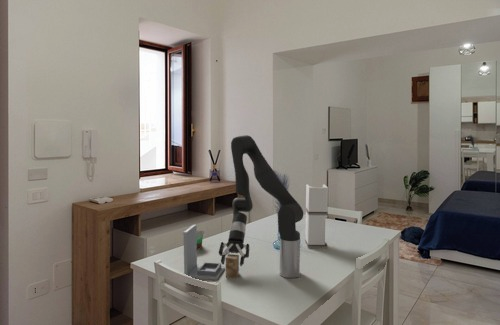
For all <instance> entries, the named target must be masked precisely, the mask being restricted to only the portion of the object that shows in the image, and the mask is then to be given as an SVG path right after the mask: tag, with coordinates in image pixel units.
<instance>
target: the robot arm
mask: <svg viewBox="0 0 500 325" xmlns="http://www.w3.org/2000/svg"><path fill="white" fill-rule="evenodd" d="M230 150H231V158H232V162H233V167H234V173H235V174H234V175H235V176H234V177H235V193H236V194H237V195H240V196H242V197H235V198H234V199H233V200H232V203H231V204H232V221H231V225H230V230H229V234H228V240H227V242H223V241H222V242H220V244H219V249H218V254H219V256H221V258H220V263H221V265H225V263H226V257H227V255H228V254H230V253H231V254H240V255H239V256H240V260H239V266H240V267H242V266H244V263H245V259H246V258H247V259H248V258H249V256H250V244H249V243H246V244H244V243H245V242H244V241H245V236H246V227H247V220H248V216H247V214H245V213H249V212H251V211H252V210H253V207H254V206H253V199H252V196H251V193H250V177H249V174H248V171H247V170H246V167H245V165H244V160H243V159H244V155H245V154H246V155H247V156H248V157H249V159H250V160H251V162H252V164H253V173H254V177H255V179H256V181H257V182H258V184H259V185H260V187H261V188H262V190H264V191H265V192H266V193H267V194H269V196H272V197H273V198H274V199H276V200H277V201H278V203H279V204H280V206H281V207H279V209H278V211H277V212H278V213H277V231H278V234H279V275H280V276H281V277H283V278H286V279H287V278H288V279H294V278H300V274H301V269H300V268H301V253H300V252H301V251H300V250H301V249H300V248H301V245H300V244H301V233H300V232H299V231H298V230H297V229H296V228H297V227H296V226H297V225H296V224H297V223H299V222H301V220H303V219H304V210H303V208H302V206H301V205H300V203H299V202H298V201H297V200H296V199H295V198H294V197H293V195H291V193H290V191H288V189H287V188H286V186H285V185H284V184H283V182H282V181H281V180H280V177H278V174H276V172H275V171H274V169H273V168H272V167H271V165H270V164H269V163H268V161H267V160H266V158H265V157H264V155H263V153H262V152H261V150H260V148H259V146H258V145H257V143H256V141H255V140H254V139H253V137H252V136H250V135H244V134H243V135H237V136H235V137H233V138H232V140H231V141H230ZM243 212H244V213H243ZM243 249H245V253H244V252H243V251H242V250H243Z"/></svg>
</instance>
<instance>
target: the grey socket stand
mask: <svg viewBox="0 0 500 325" xmlns="http://www.w3.org/2000/svg"><path fill="white" fill-rule="evenodd" d="M183 231H184V235H183V266H184V268H183V269H184V271H183V275H184V274H186V275H188V276H191V277H194V278H193V279H200V280H211V281H218V279H219V278H220V276H221V275H222V274H223V272H224V270H225V266H222V263H221V262H220V263H218V262H208V261H207V262H206V261H204V262H203V263H202V264H198V251H197V250H198V249H197V232H196V231H197V224H192V225H191V226H189V227H188V228H187V229H185V230H183Z"/></svg>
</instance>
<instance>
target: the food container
mask: <svg viewBox="0 0 500 325" xmlns="http://www.w3.org/2000/svg"><path fill="white" fill-rule="evenodd" d="M184 231H185V230H183V231H182V236H184ZM196 232H197V250H199V249H202V247H203V237H204V234H205V230H204V229H202V230H196Z"/></svg>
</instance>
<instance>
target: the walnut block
mask: <svg viewBox="0 0 500 325" xmlns="http://www.w3.org/2000/svg"><path fill="white" fill-rule="evenodd" d="M239 259H240V255H239V254H234V253H231V254H230V253H229V254H227V255H226V256H225V278H233V279H235V278H238V276H239V274H240V272H239V270H240V268H239V266H240V260H239Z"/></svg>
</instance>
